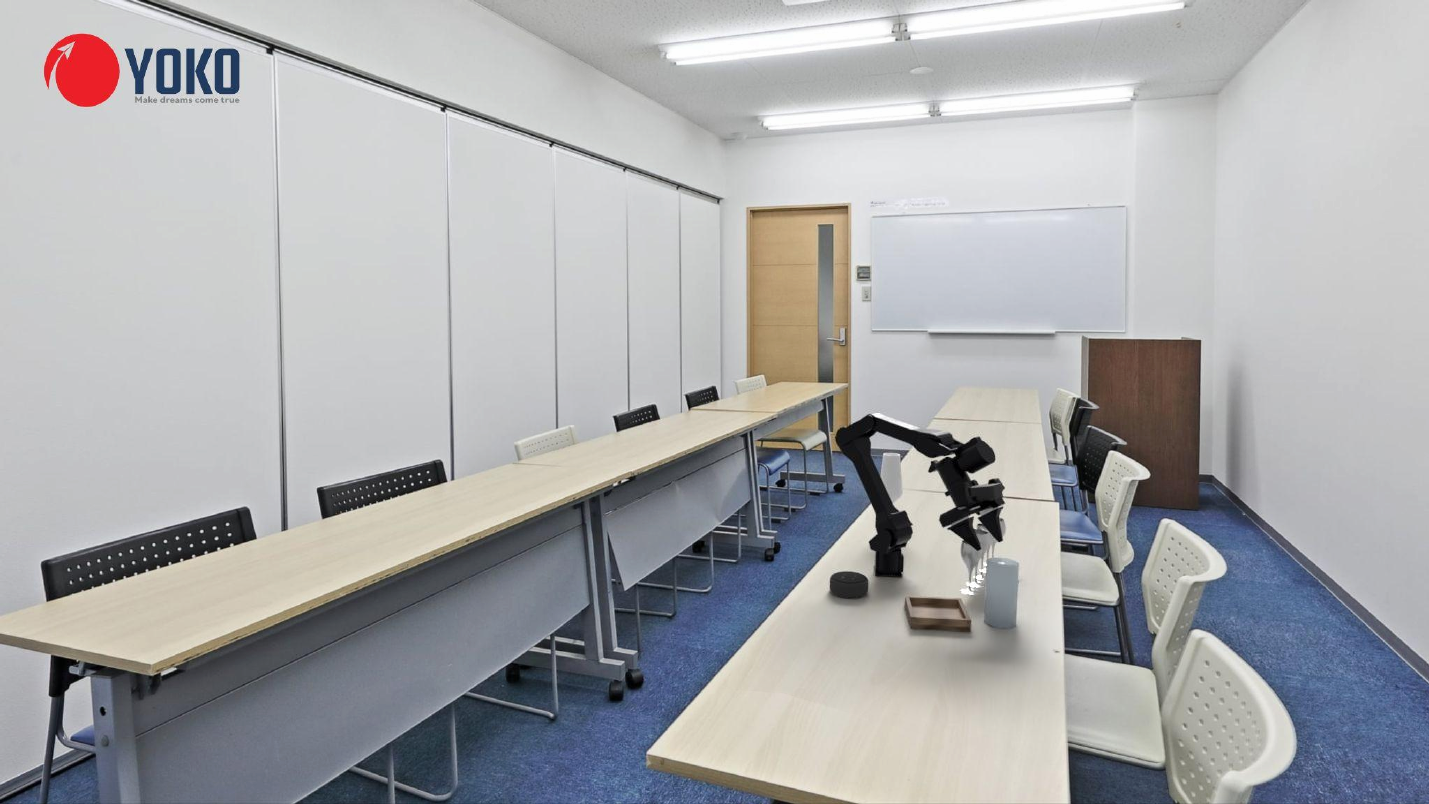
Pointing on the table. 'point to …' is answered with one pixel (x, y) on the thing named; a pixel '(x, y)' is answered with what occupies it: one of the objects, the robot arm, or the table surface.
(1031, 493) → the table surface
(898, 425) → the robot arm
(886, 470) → the white tapered column
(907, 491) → the table surface
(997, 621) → the domed blue cylinder
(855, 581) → the smart speaker
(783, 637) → the table surface
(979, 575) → the goblet set
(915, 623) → the tray
